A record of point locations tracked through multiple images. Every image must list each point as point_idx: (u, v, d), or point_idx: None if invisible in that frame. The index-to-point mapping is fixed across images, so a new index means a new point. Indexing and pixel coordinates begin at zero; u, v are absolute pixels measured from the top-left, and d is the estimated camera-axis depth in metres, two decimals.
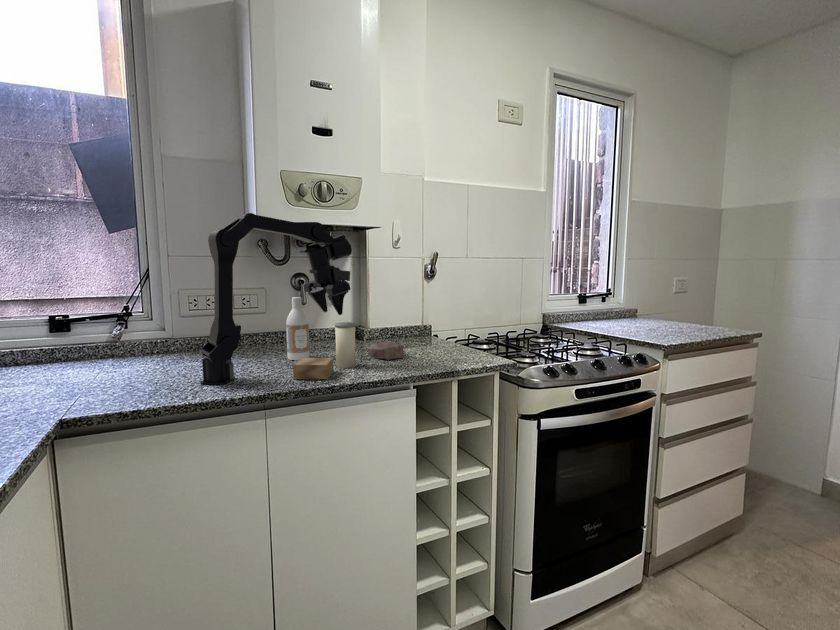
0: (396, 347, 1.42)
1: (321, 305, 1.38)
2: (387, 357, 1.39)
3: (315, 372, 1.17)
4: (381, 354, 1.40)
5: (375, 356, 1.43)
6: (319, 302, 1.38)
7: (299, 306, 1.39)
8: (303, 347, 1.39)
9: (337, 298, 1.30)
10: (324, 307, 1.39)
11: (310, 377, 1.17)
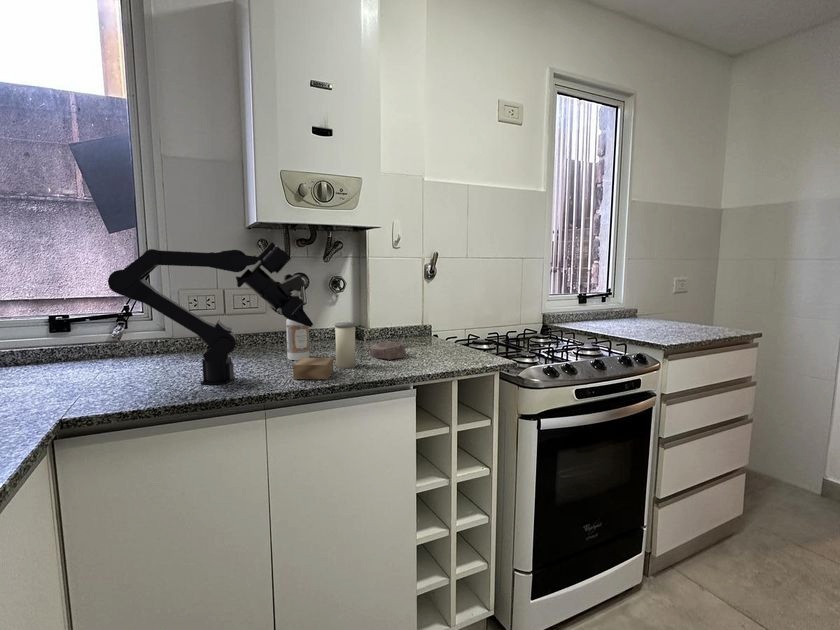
0: (397, 347, 1.42)
1: None
2: (389, 357, 1.40)
3: (315, 372, 1.17)
4: (383, 354, 1.40)
5: (376, 356, 1.43)
6: None
7: None
8: (303, 347, 1.39)
9: (297, 314, 1.17)
10: None
11: (310, 377, 1.17)
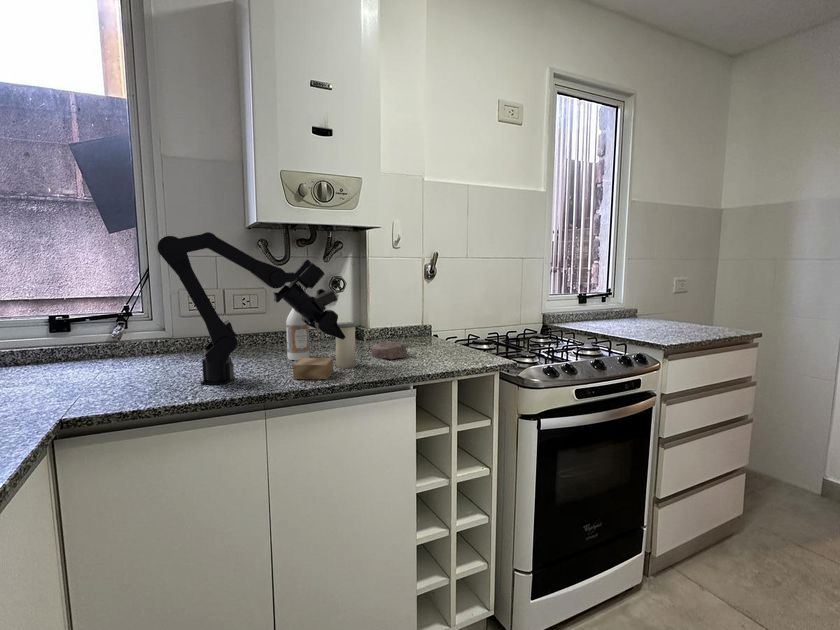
0: (399, 347, 1.43)
1: None
2: (391, 357, 1.40)
3: (315, 372, 1.17)
4: (384, 354, 1.41)
5: (378, 356, 1.43)
6: None
7: None
8: (303, 347, 1.39)
9: (331, 327, 1.23)
10: None
11: (310, 377, 1.17)
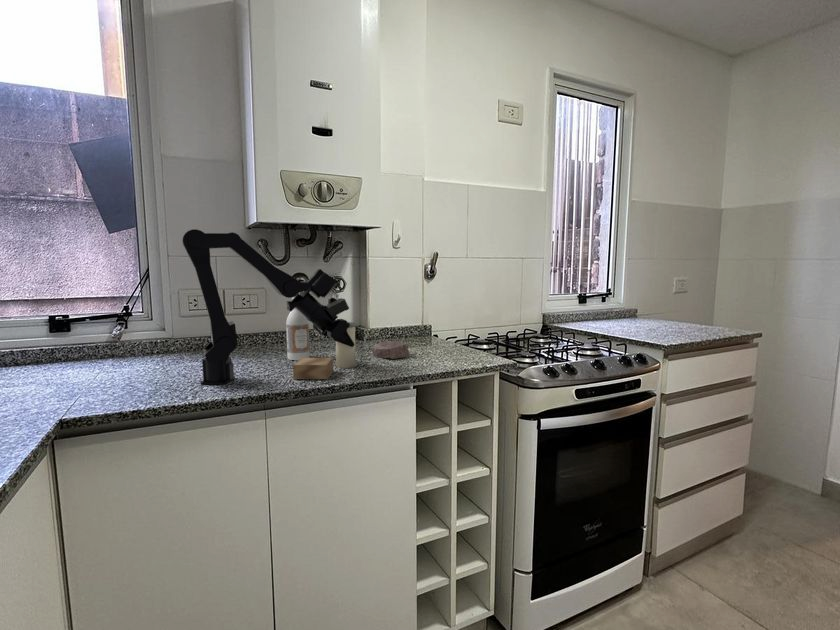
0: (401, 346, 1.43)
1: None
2: (393, 356, 1.40)
3: (315, 372, 1.17)
4: (387, 353, 1.41)
5: (380, 356, 1.43)
6: None
7: None
8: (303, 347, 1.39)
9: (341, 335, 1.26)
10: None
11: (310, 377, 1.17)
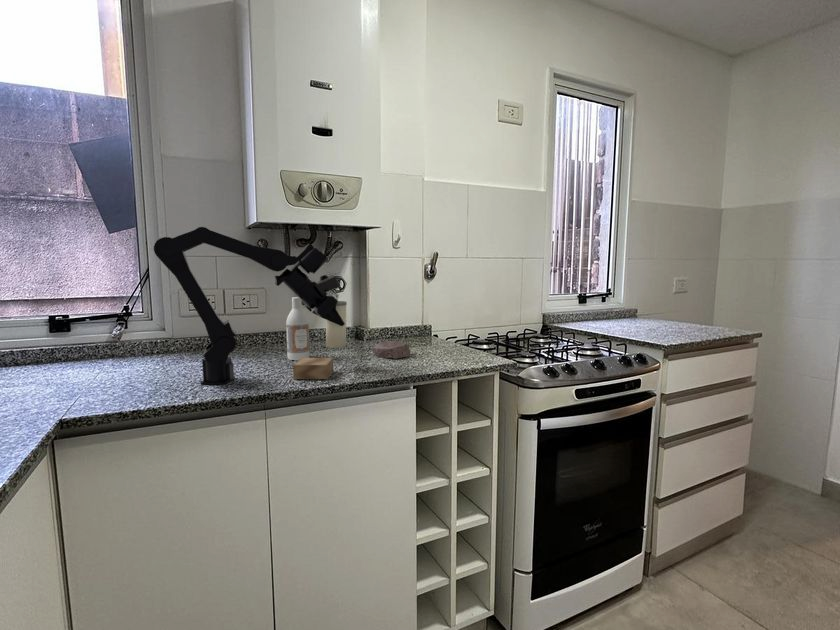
0: (403, 346, 1.44)
1: None
2: (395, 356, 1.41)
3: (315, 372, 1.17)
4: (389, 353, 1.41)
5: (382, 355, 1.43)
6: None
7: (299, 306, 1.39)
8: (303, 347, 1.39)
9: (330, 313, 1.22)
10: None
11: (310, 377, 1.17)
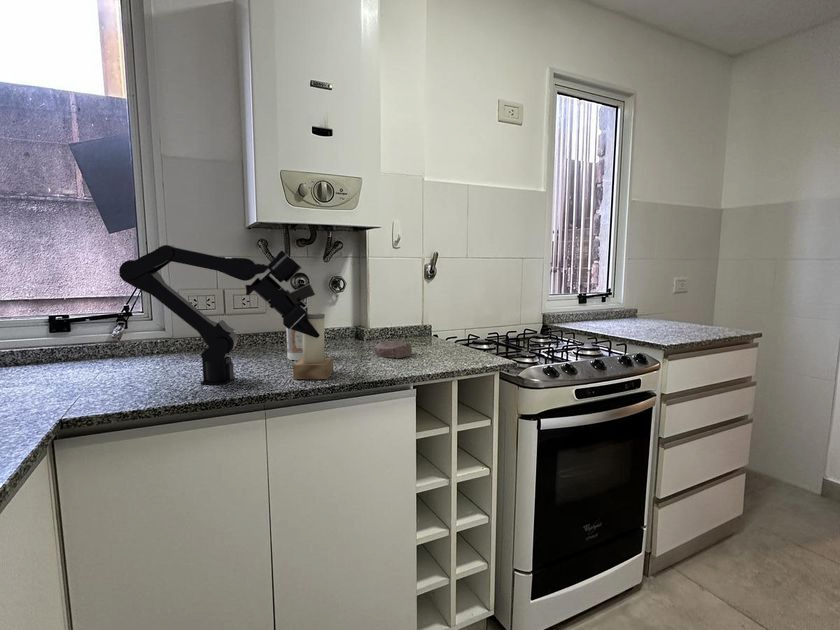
0: (405, 345, 1.45)
1: None
2: (398, 356, 1.41)
3: (315, 372, 1.17)
4: (392, 353, 1.42)
5: (384, 355, 1.44)
6: None
7: None
8: None
9: (302, 324, 1.14)
10: None
11: (310, 377, 1.17)
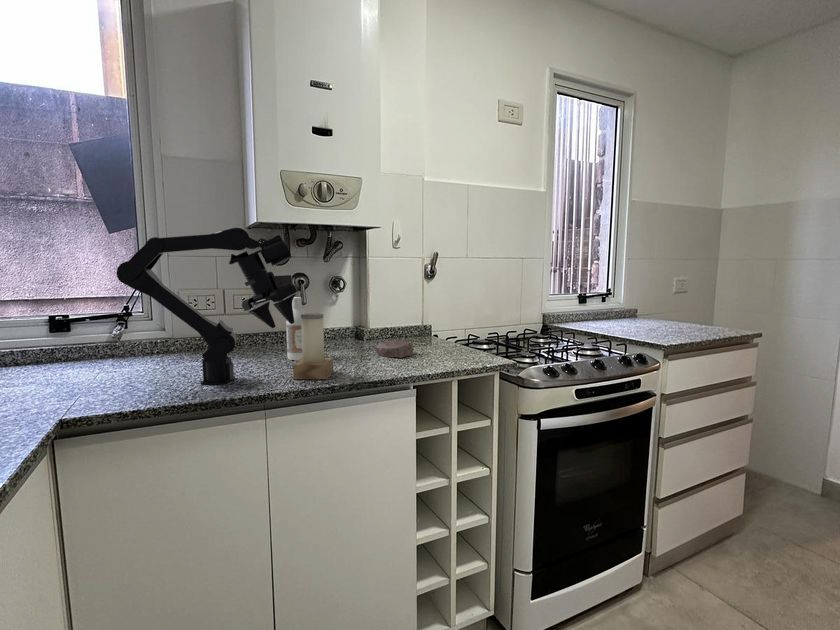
0: (407, 345, 1.46)
1: (267, 321, 1.21)
2: (401, 355, 1.42)
3: (315, 372, 1.17)
4: (395, 352, 1.43)
5: (387, 355, 1.44)
6: (264, 318, 1.21)
7: (299, 306, 1.39)
8: None
9: (285, 305, 1.14)
10: (271, 322, 1.22)
11: (310, 377, 1.17)
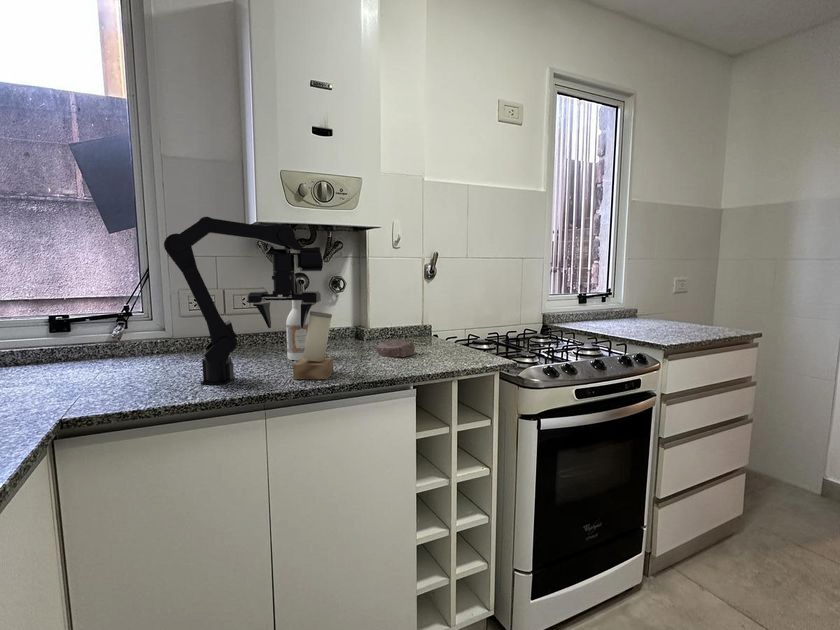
0: (409, 344, 1.47)
1: (268, 319, 1.21)
2: (404, 354, 1.43)
3: (315, 372, 1.17)
4: (397, 352, 1.43)
5: (389, 355, 1.45)
6: (267, 315, 1.20)
7: (299, 306, 1.39)
8: (303, 347, 1.39)
9: None
10: (269, 322, 1.22)
11: (310, 377, 1.17)
